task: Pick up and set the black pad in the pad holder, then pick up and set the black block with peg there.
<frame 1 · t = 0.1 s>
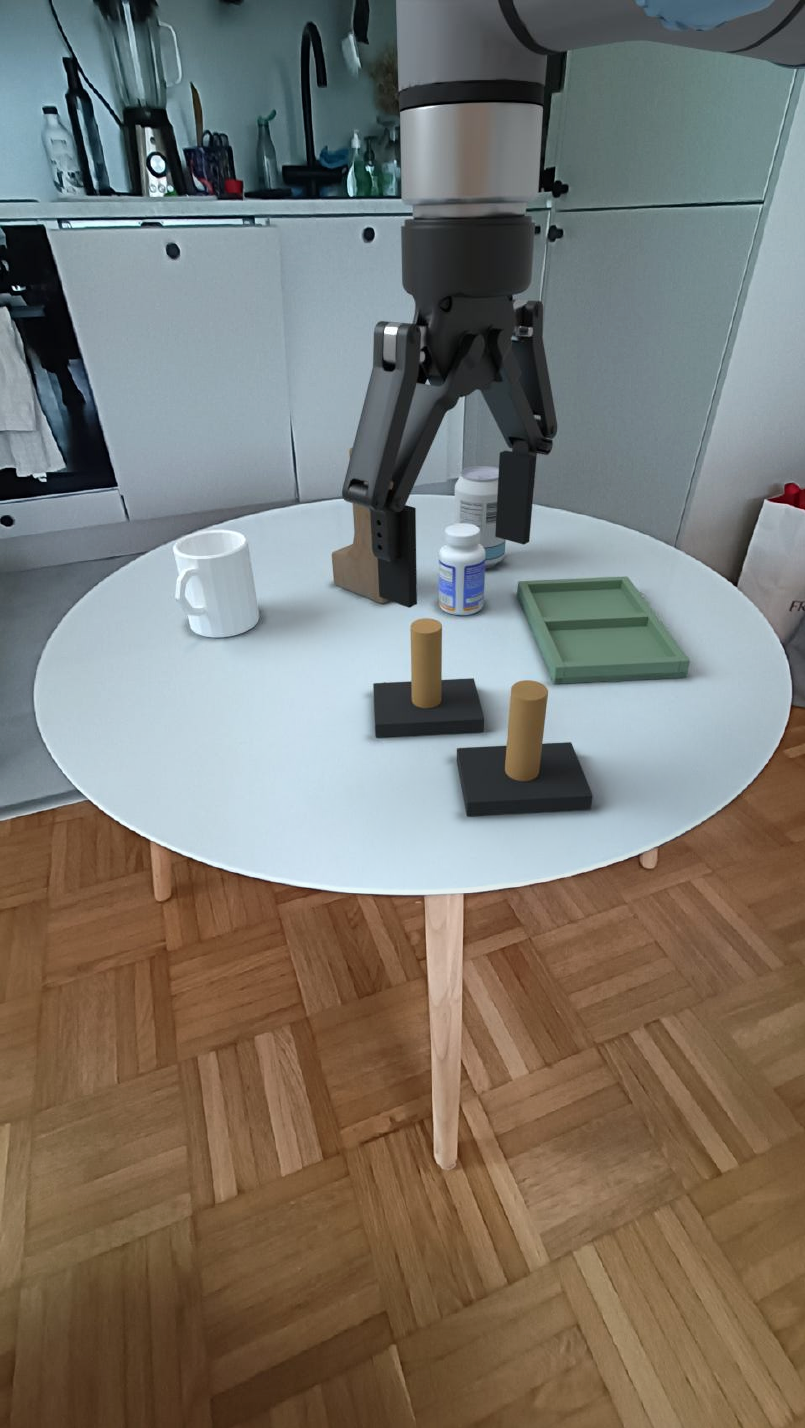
hand: (459, 568, 52), 18 cm above the table, tool pointing down, fingers open, 13 cm apart
black block with peg 2: (426, 713, 69), on the table
mug: (217, 630, 84), on the table
pill bottle: (461, 607, 87), on the table
black pad 1: (520, 784, 60), on the table
beverage can: (478, 563, 98), on the table
pad holder: (593, 632, 81), on the table
wooden block: (369, 590, 92), on the table
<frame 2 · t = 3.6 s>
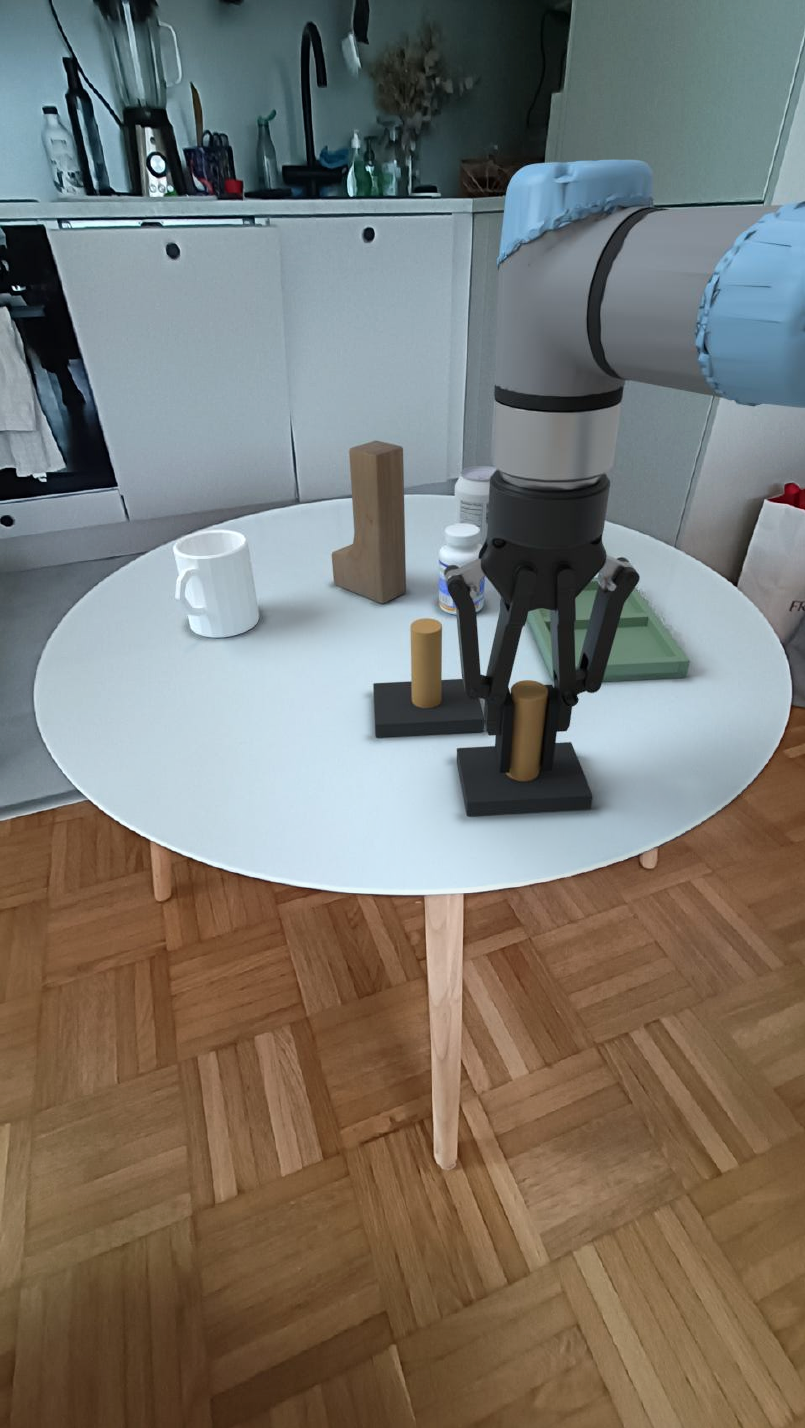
hand: (522, 760, 59), 3 cm above the table, tool pointing down, fingers closed on black pad 1, 3 cm apart
black pad 1: (520, 784, 60), on the table, touching gripper
everything else where it was.
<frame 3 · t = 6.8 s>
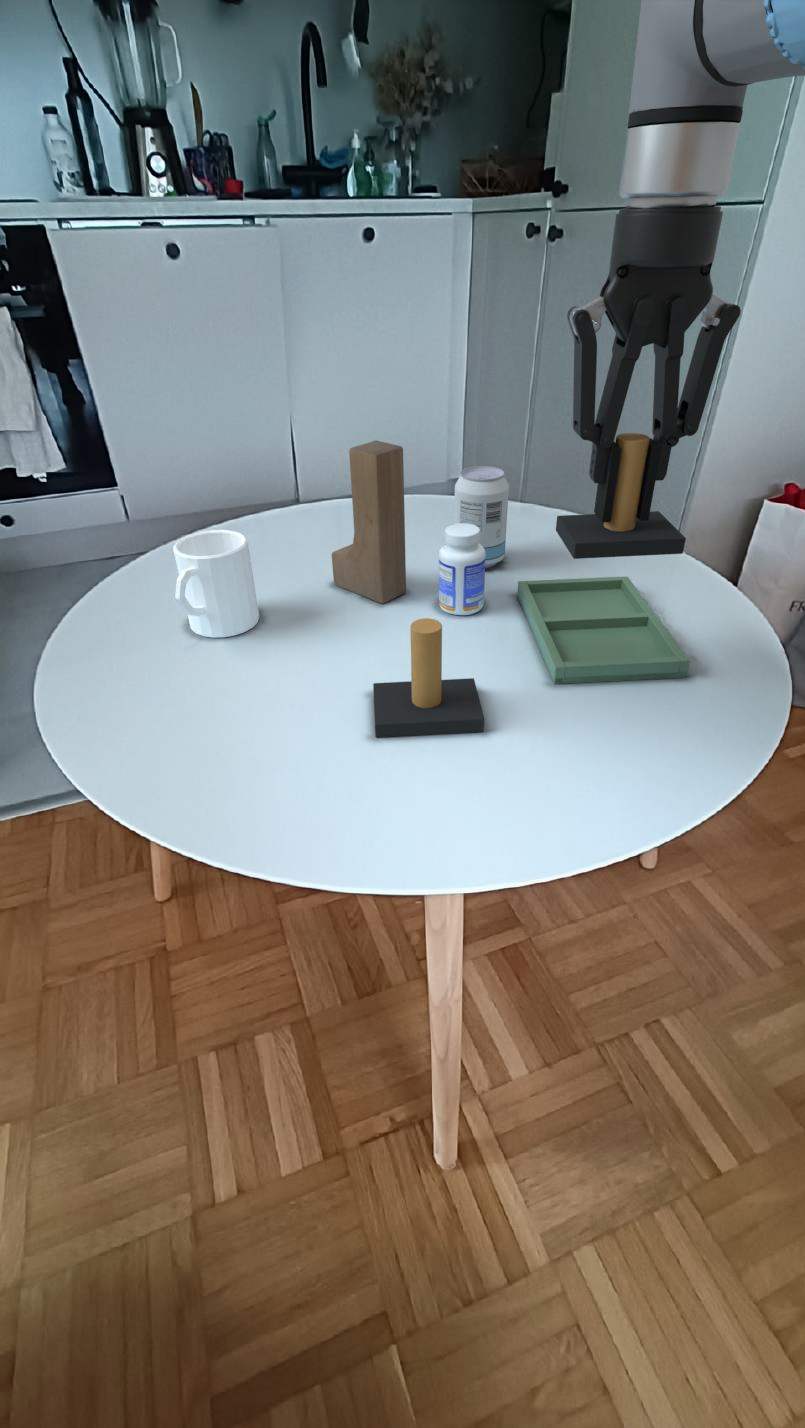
hand: (620, 515, 66), 16 cm above the table, tool pointing down, fingers closed on black pad 1, 3 cm apart
black pad 1: (616, 541, 67), point 14 cm above the table, touching gripper
everything else where it was.
when the fingers open (3 cm above the table, at t = 9.9 s): black pad 1 stays where it is, resting on pad holder.
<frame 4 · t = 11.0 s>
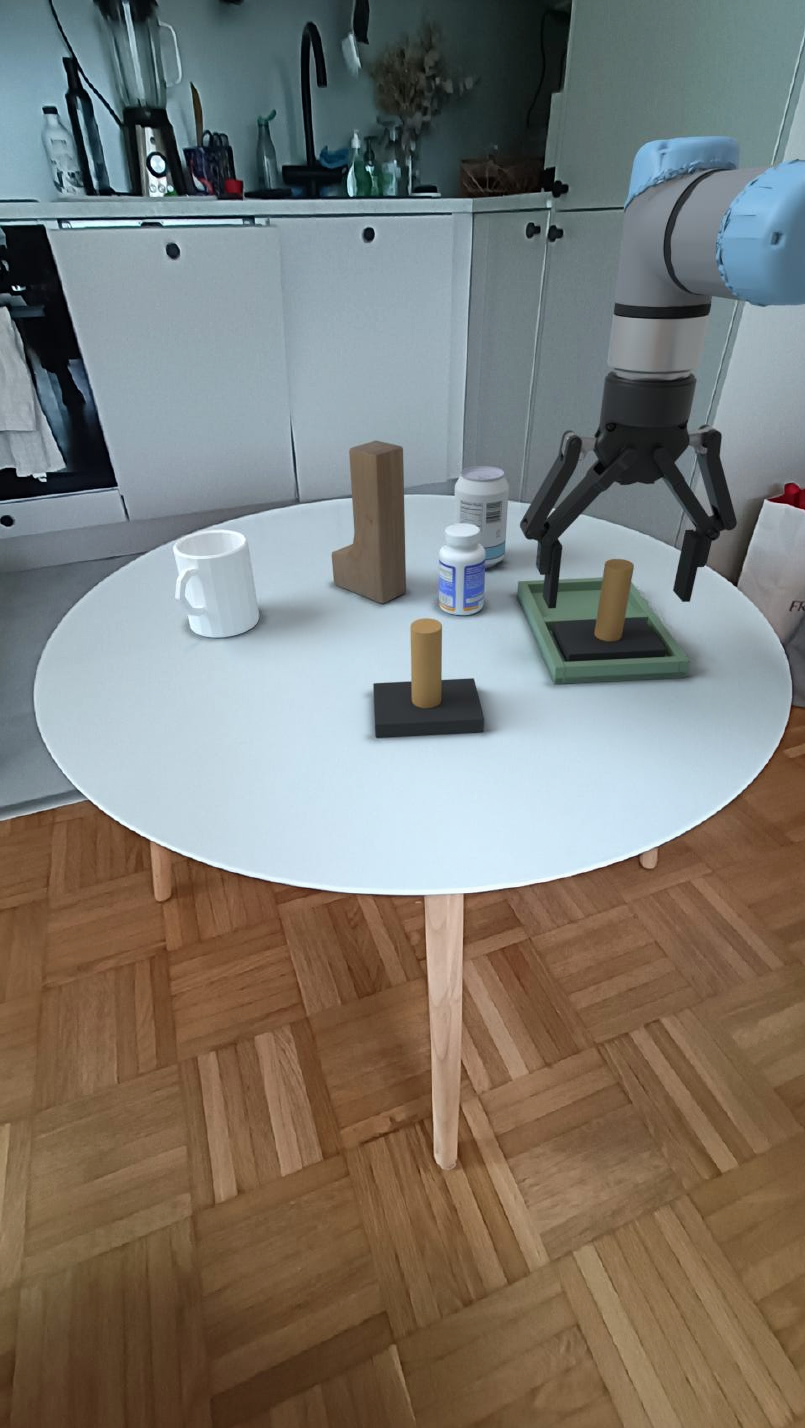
hand: (615, 599, 73), 7 cm above the table, tool pointing down, fingers open, 13 cm apart
black pad 1: (605, 647, 77), point 1 cm above the table, touching pad holder
everything else where it was.
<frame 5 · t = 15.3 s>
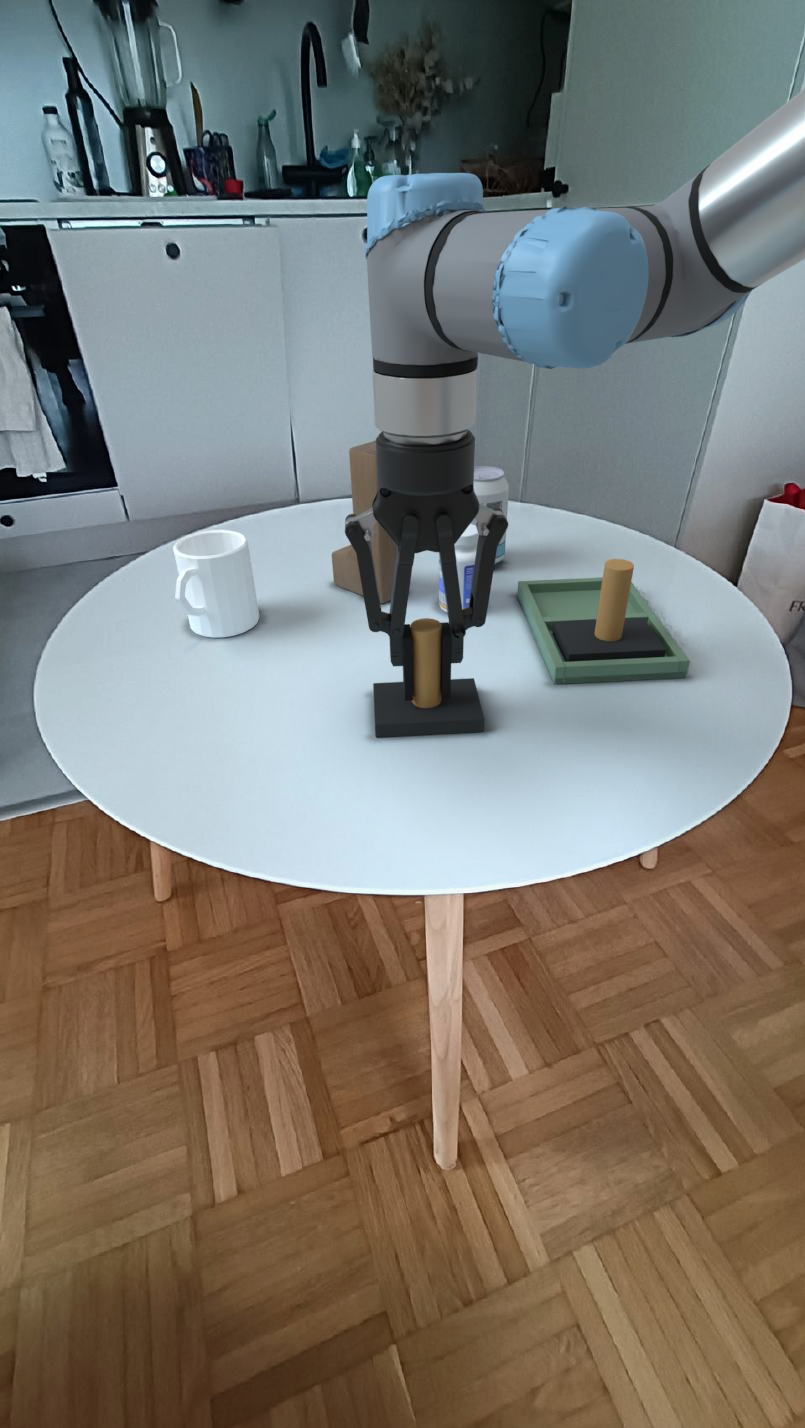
hand: (426, 691, 67), 3 cm above the table, tool pointing down, fingers closed on black block with peg 2, 3 cm apart
black block with peg 2: (426, 713, 69), on the table, touching gripper
everything else where it was.
when the fingers open (3 cm above the table, at t = 21.8 s): black block with peg 2 stays where it is, resting on pad holder.
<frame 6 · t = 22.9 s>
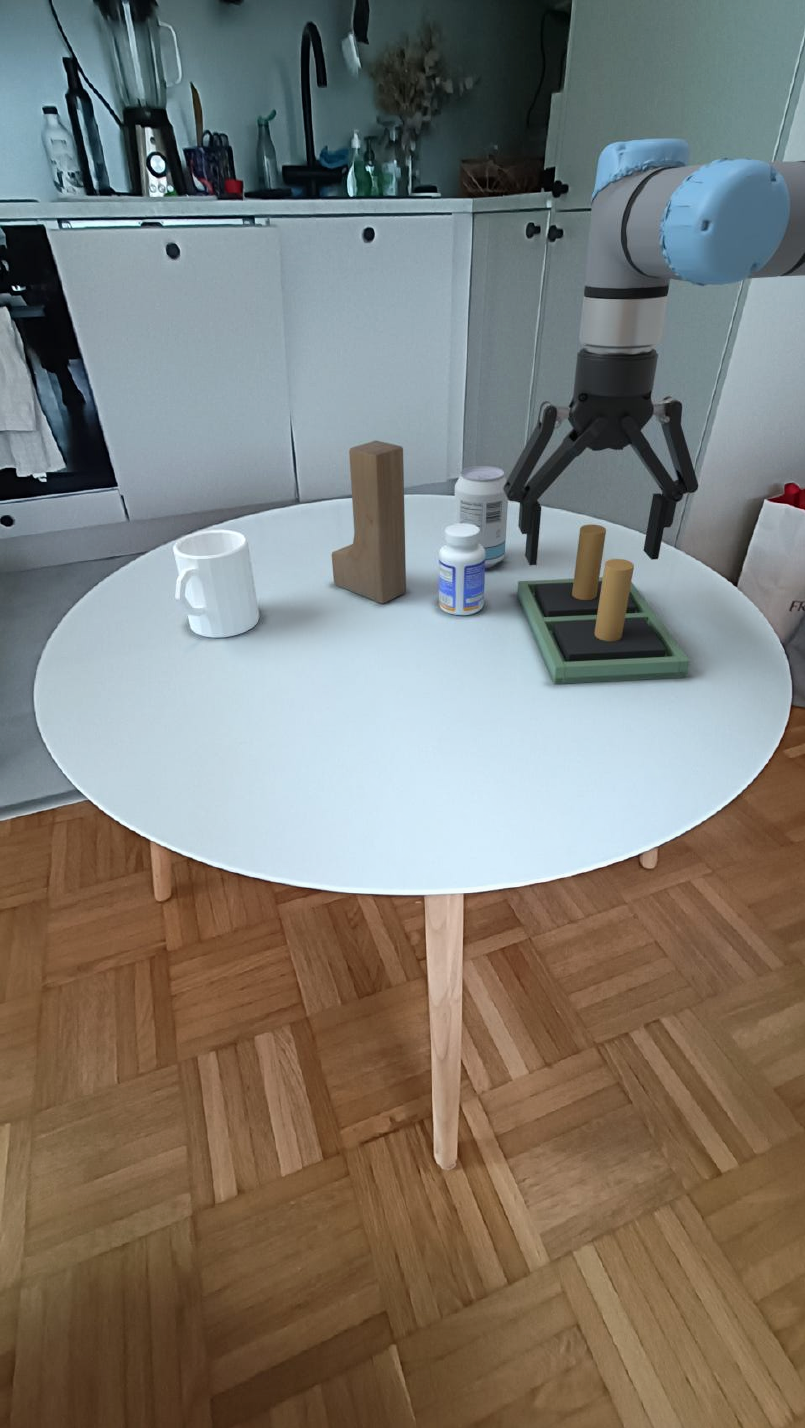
hand: (590, 558, 80), 7 cm above the table, tool pointing down, fingers open, 13 cm apart
black block with peg 2: (582, 606, 84), point 1 cm above the table, touching pad holder
everything else where it was.
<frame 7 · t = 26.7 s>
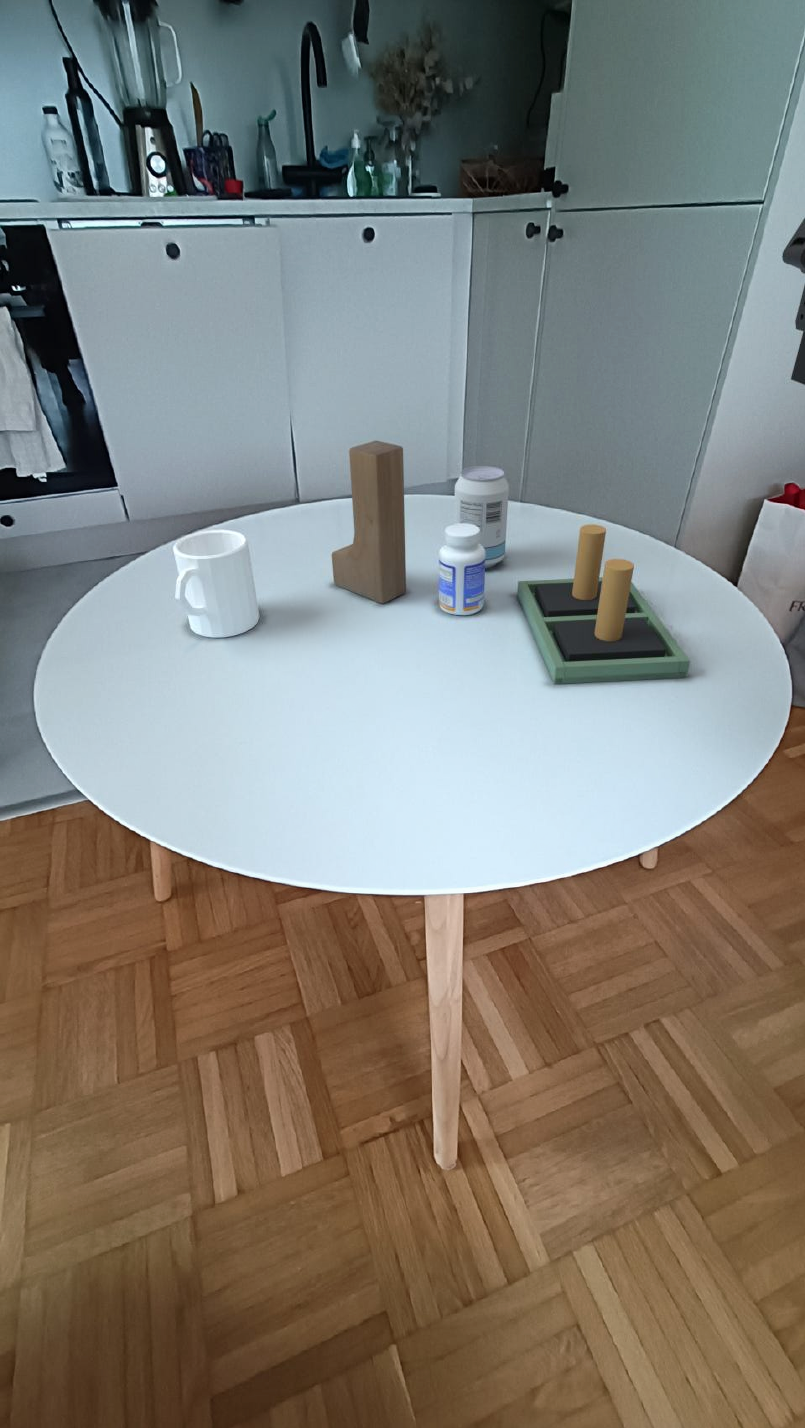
nothing on the table moved.
at the end: black pad 1 inside the target area on the pad holder (0.0 cm from its centre), point 0.8 cm above the pad holder's base; black block with peg 2 inside the target area on the pad holder (0.2 cm from its centre), point 0.8 cm above the pad holder's base; black block with peg 2 tilted 0° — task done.
